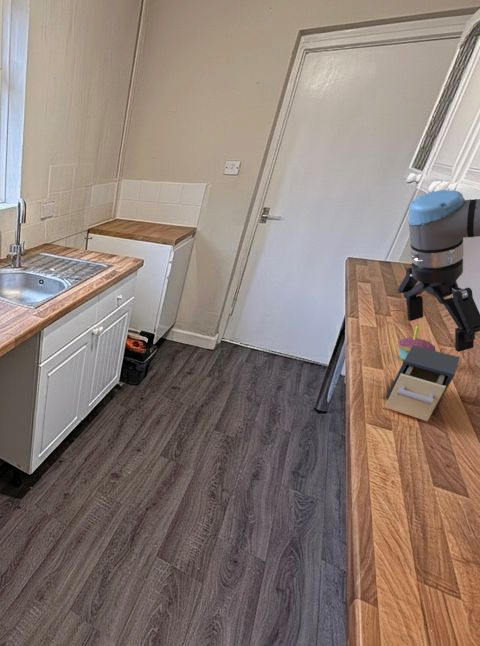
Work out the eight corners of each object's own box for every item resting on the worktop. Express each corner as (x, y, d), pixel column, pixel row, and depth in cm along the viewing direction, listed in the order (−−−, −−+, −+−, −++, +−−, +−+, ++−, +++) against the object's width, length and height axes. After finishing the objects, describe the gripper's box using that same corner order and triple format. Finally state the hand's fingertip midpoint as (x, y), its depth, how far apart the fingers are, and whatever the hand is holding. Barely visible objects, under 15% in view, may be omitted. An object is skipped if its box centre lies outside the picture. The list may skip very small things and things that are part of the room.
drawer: (424, 429, 99) (443, 394, 95) (380, 413, 105) (396, 380, 101) (434, 402, 110) (451, 370, 106) (393, 389, 115) (408, 358, 111)
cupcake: (394, 360, 133) (410, 326, 128) (389, 350, 139) (404, 318, 134) (432, 368, 128) (450, 333, 123) (425, 357, 134) (442, 324, 130)
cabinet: (433, 413, 107) (454, 374, 102) (386, 397, 113) (404, 360, 108) (440, 393, 115) (460, 357, 110) (395, 380, 121) (412, 345, 117)
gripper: (374, 247, 102) (381, 313, 111) (466, 292, 81) (466, 369, 90) (411, 233, 100) (415, 302, 109) (516, 276, 79) (511, 357, 87)
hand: (438, 332), depth 99 cm, fingers open, 13 cm apart
